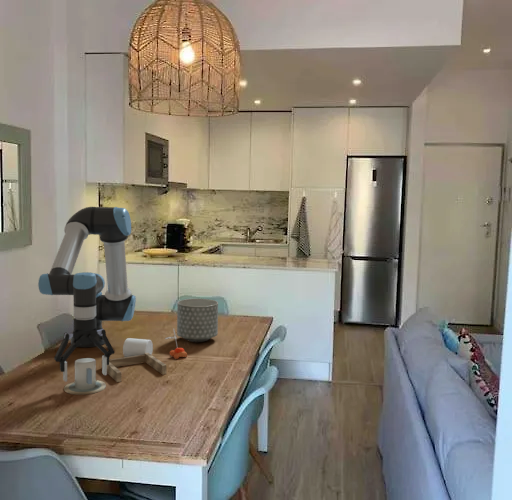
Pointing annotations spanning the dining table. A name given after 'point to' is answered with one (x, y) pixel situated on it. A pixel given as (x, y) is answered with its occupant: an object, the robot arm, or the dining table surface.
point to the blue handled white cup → (85, 373)
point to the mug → (137, 347)
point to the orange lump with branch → (177, 350)
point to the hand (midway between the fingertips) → (85, 377)
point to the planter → (197, 319)
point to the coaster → (72, 390)
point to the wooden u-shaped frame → (134, 360)
